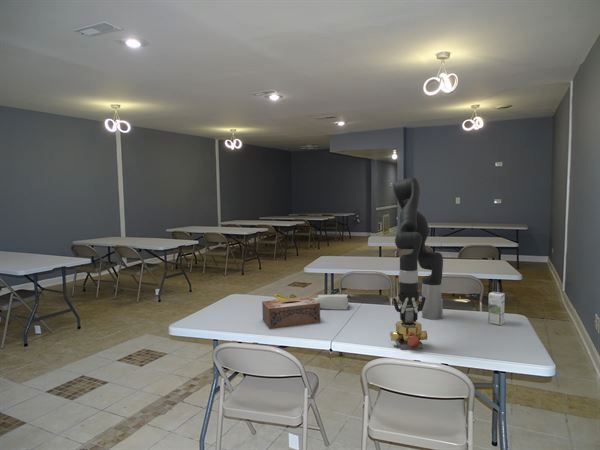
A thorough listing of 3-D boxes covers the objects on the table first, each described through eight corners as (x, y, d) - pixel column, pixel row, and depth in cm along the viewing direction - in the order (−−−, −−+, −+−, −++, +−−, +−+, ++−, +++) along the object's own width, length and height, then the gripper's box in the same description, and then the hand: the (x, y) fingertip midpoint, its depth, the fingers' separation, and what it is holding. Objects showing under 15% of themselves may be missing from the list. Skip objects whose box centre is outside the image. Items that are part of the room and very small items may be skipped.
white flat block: (309, 294, 249) (306, 294, 224) (347, 294, 247) (348, 294, 222) (309, 307, 248) (306, 309, 223) (347, 308, 246) (348, 309, 221)
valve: (422, 340, 175) (422, 319, 174) (431, 351, 163) (431, 329, 162) (388, 341, 175) (388, 320, 174) (395, 352, 163) (395, 330, 162)
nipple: (412, 325, 172) (412, 304, 171) (415, 329, 167) (415, 307, 167) (402, 326, 172) (402, 305, 171) (405, 329, 167) (404, 308, 167)
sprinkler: (292, 312, 221) (309, 302, 239) (291, 300, 221) (308, 291, 238) (258, 311, 232) (277, 301, 250) (257, 299, 232) (276, 290, 249)
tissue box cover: (269, 329, 194) (268, 308, 194) (262, 320, 208) (262, 301, 207) (320, 323, 202) (319, 303, 202) (310, 315, 216) (310, 296, 215)
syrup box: (504, 322, 196) (505, 292, 195) (500, 325, 192) (501, 295, 190) (492, 320, 200) (492, 291, 199) (487, 323, 195) (488, 293, 194)
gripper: (423, 278, 172) (423, 318, 173) (389, 278, 172) (389, 319, 173) (428, 281, 164) (428, 323, 166) (393, 282, 164) (393, 324, 165)
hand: (408, 321), depth 169 cm, fingers closed on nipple, 4 cm apart
